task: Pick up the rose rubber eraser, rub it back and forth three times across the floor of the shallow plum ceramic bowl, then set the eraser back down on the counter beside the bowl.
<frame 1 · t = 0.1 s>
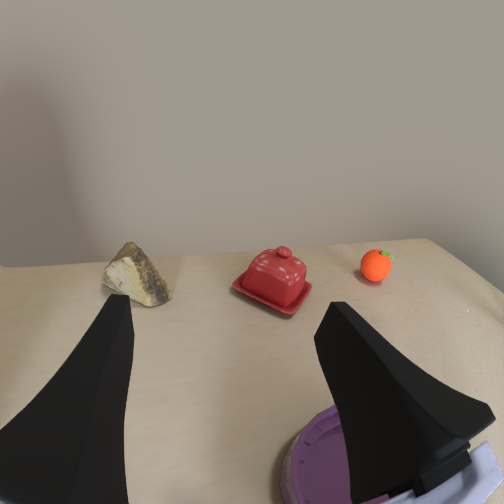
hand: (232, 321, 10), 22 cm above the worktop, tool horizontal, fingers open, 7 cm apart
butter dish: (272, 292, 50), on the worktop
bowl: (357, 479, 22), on the worktop
clementine: (371, 279, 61), on the worktop
rock: (134, 292, 42), on the worktop
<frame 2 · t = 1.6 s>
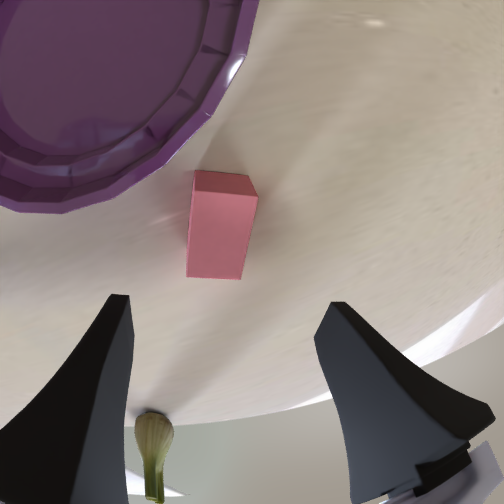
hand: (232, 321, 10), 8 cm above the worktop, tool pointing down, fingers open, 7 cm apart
eraser: (215, 212, 17), on the worktop
fennel bulb: (154, 415, 31), on the worktop
bowl: (77, 34, 9), on the worktop
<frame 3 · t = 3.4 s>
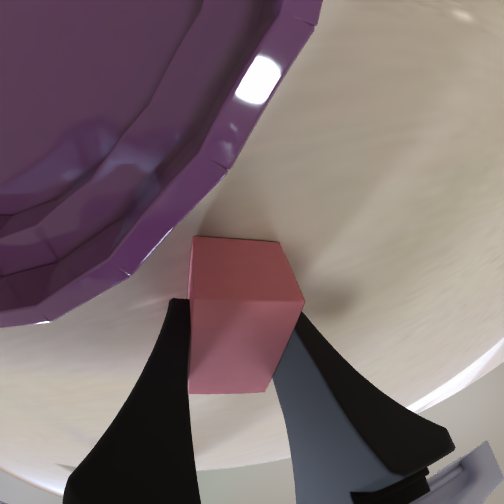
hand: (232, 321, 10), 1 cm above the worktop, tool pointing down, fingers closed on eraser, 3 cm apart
eraser: (226, 294, 11), on the worktop, touching gripper
bowl: (2, 20, 4), on the worktop
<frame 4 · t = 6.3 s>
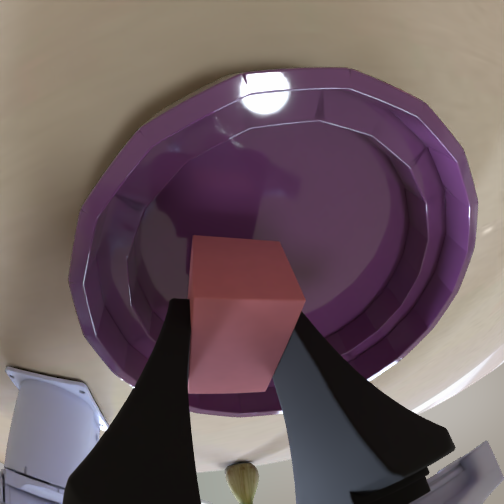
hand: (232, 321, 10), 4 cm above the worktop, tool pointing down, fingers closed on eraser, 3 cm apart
eraser: (227, 293, 11), point 3 cm above the worktop, touching gripper
fennel bulb: (240, 462, 35), on the worktop
bowl: (282, 260, 14), on the worktop
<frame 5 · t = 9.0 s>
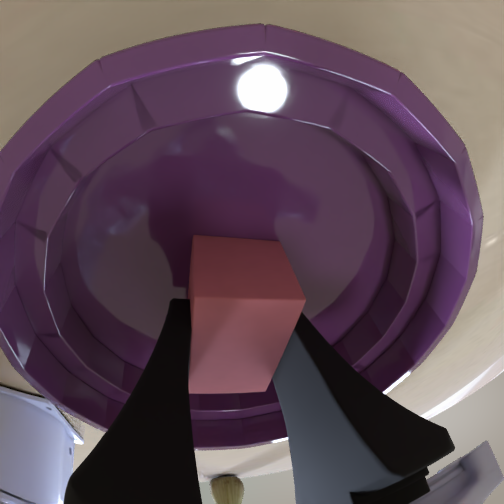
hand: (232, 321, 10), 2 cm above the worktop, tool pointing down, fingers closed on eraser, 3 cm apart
eraser: (227, 293, 11), resting on bowl, touching gripper
fennel bulb: (225, 475, 33), on the worktop
bowl: (233, 286, 12), on the worktop, touching eraser
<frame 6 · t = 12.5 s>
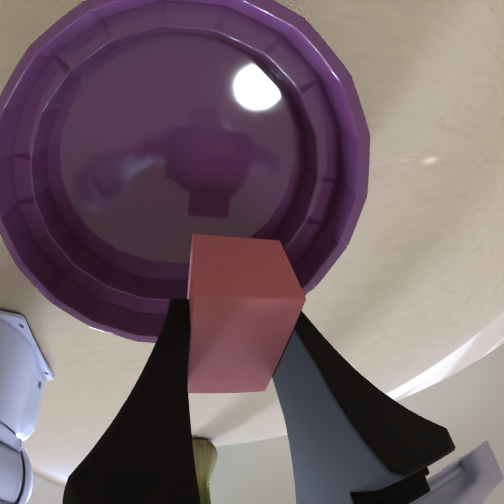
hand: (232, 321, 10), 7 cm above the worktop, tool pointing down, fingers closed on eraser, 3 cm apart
eraser: (226, 292, 11), point 6 cm above the worktop, touching gripper
fennel bulb: (198, 440, 35), on the worktop
bowl: (170, 167, 14), on the worktop
when the fingers open (1 cm above the worktop, at t = 15.0 s): eraser stays where it is, on the worktop.
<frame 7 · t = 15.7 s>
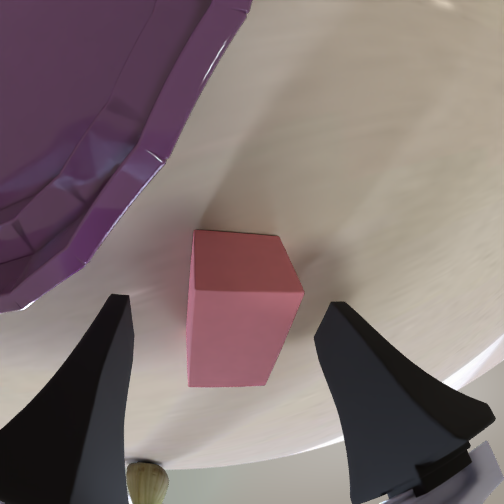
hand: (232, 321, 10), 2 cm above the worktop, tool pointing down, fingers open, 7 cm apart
eraser: (227, 288, 11), on the worktop
fennel bulb: (146, 462, 25), on the worktop
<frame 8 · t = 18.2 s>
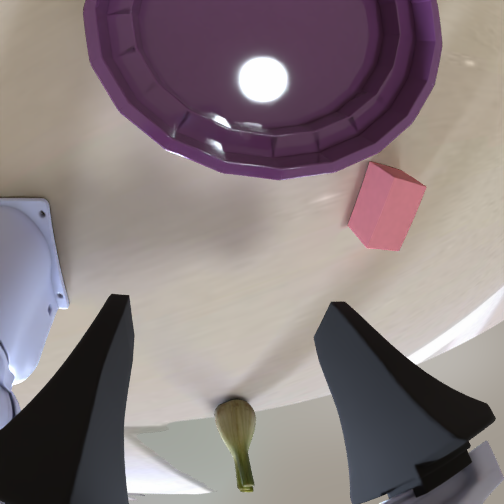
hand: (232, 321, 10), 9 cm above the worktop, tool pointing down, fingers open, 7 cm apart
eraser: (375, 197, 19), on the worktop
fennel bulb: (233, 402, 33), on the worktop
bowl: (269, 14, 11), on the worktop
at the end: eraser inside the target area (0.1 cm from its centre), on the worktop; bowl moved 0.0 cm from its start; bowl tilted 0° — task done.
